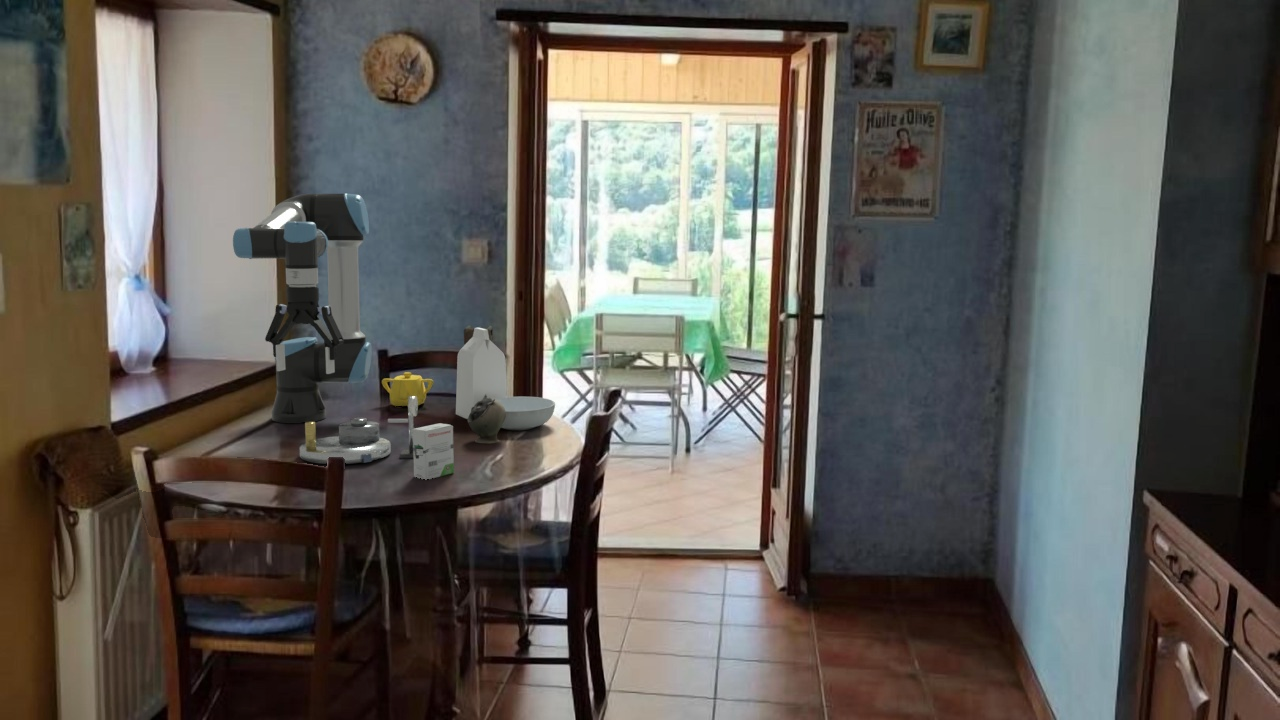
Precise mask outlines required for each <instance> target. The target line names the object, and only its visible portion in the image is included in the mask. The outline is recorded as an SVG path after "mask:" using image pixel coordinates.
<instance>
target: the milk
mask: <svg viewBox="0 0 1280 720" xmlns="http://www.w3.org/2000/svg"><path fill="white" fill-rule="evenodd" d="M473 328H474V333H473V337H472V338H471V339H470V340H469V341H468V342H467V343H466V344H465V345H464V344H463V346H462V347H461V348H460V349H459V351H458V353H457V356H456V358H457V360H456V364H457V365H456V393H455V394H456V396H455V397H456V398H455V399H456V400H455V415H457V416H459V417H461V418H463V419H466V420H467V419H468V417H469V415H470V413H471V408H472V407H474V406H475V404H476V403H477V402H478V401H481V400H482V399H483V398H484V396H485V394H486V396H487V398H492V399H496V398H504V397H509V395H508V381H507V379H508V378H507V365H506V363H507V361H506V356H505V353H504V352H503V351H502V350H501V349H500V348H499V347H498V346H497V345H496V344H495V342H494V343H492V342H491V341H490V340H489V335H488V330H487V329H483V328H484V327H482V328H477V327H473Z"/></svg>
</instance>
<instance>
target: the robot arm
mask: <svg viewBox="0 0 1280 720" xmlns="http://www.w3.org/2000/svg"><path fill="white" fill-rule="evenodd" d="M368 213H369V212H368V208H367V205H366V202H365V200H364V198H363V197H362V196H361V195H359V194H356V193H355V194H354V193H346V192H344V193H310V192H309V193H302V194H298V195H296V196H292V197H289V198H287V199H284V200H283V201H281V202H279V203H278V204H277V205H275V206H274V208H273V209H272V211H271V213H270V215H269V216H267V217H266V218H265V219H263V220H262V221H261V222H259V223H258V224H256V225H255V226H254V227H252V228H251V227H243V228H236V229H235V231H234V233H233V237H232V245H233V246H232V247H233V248H232V249H233V252H234V255H235V256H236V257H237V258H240V259H249V260H252V259H256V260H257V259H283V260H284V262H285V281H286V285H288V286H286V290H285V291H286V301H287V305H286V304H284V303H280V304H276V306H275V310H274V311H275V312H274V316H273V318H272V321H271V323H270V326H269V328H268V330H267V333H266V336H265V337H264V340H265V342H267V343H268V342H269V343H271V344H272V353H273V354H272V355H273V358H274V361H275V377H276V378H275V379H276V395H275V398H274V403H273V406H272V410H271V421H272V422H276V423H280V424H282V423H283V424H303V423H302V422H318V421H322V420H324V419H326V418H327V410H326V406H325V403H324V401H323V398H322V396H321V393H320V385H319V383H322V384H324V383H325V384H327V383H328V384H329V383H331V384H332V383H338V384H339V383H348V384H352V383H362V382H364V381H365V380H366V379H367V378H368V376H369V373H370V370H371V363H372V356H373V355H372V354H373V346H372V343H371V342H369V341H366V340H367V339H366V335H365V333H364V332H362V331H361V320H360V318H361V317H360V314H361V313H360V277H359V276H360V273H359V272H360V270H359V269H360V268H359V247H360V245H362V244H363V243H364V237H365V236H367V235H369V233H370V220H369V214H368ZM326 252H327V253H326ZM325 253H326V254H327V255H326V257H327V285H328V286H327V289H328V290H327V293H328V294H327V295H328V299H327V300H328V305H324V306H320V304H319V301H320V289H319V287H318V286H317V285H318V284H319V267H318V266H319V265H318V263H319V262H318V258H321V257H322V256H323V255H324V254H325ZM286 313H288V317H287V319H286V320H285V323H284V324H283V325H282V322H283V320H284V318H285V315H286ZM319 314H320V316H322V318H320V316H319ZM322 319H323V320H322ZM323 321H324V323H325V324H324V323H323ZM296 324H297V325H299V324H303V325H310V326H312V327H313V328H314V330H316V331H317V333H318V335H320V337H321V338H322V340H323V342H319V341H318V337H315V336H313V337H312V336H305V337H297V338H292V339H288V340H287V339H286V340H285V338H286V337H287V335H288V334H289V333H290V331H291V329H293V328H294V326H296ZM281 325H282V326H281ZM325 325H326V326H325ZM280 327H281V328H280ZM283 340H284V341H283Z"/></svg>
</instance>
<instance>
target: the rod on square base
mask: <svg viewBox="0 0 1280 720" xmlns="http://www.w3.org/2000/svg"><path fill="white" fill-rule="evenodd" d="M418 408H419V405H418V400H417V396H409V397H408V406H407V414H408V415H407V416H408V418H388V419H387V423H390V424H391V423H392V424H393V423H397V424H399V423H401V424H402V423H404V424H405V423H407V424H408V448H409V449H403V450H401V452H400V454H399V458H400V459H414V456H413V429H415V427H414V417H417V416H418V411H419V410H418Z"/></svg>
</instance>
